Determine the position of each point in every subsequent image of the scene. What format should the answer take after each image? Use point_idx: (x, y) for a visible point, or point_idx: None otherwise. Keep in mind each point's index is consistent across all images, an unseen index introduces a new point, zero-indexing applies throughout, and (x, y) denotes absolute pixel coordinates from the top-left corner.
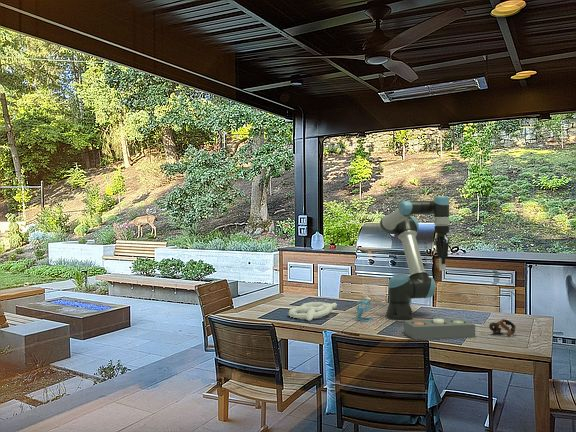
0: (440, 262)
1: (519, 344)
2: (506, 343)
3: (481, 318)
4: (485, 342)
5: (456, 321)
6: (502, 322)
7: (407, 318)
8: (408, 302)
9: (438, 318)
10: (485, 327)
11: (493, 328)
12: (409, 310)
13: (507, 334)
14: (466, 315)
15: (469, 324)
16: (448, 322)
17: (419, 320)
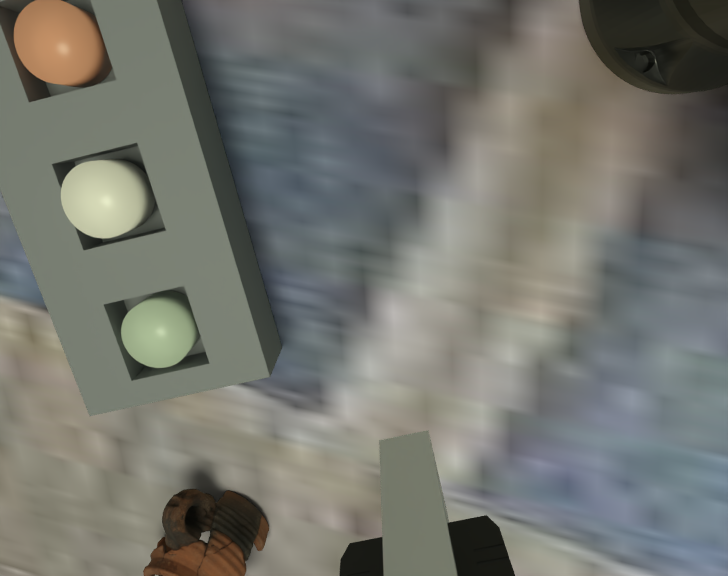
0: (384, 535)
1: (20, 541)
2: (25, 493)
3: (617, 531)
4: (22, 404)
5: (153, 323)
6: (160, 572)
7: (591, 36)
8: (702, 32)
9: (136, 206)
10: (372, 491)
11: (198, 507)
12: (669, 53)
13: (158, 543)
14: (714, 471)
15: (88, 384)
16: (125, 266)
17: (159, 63)
